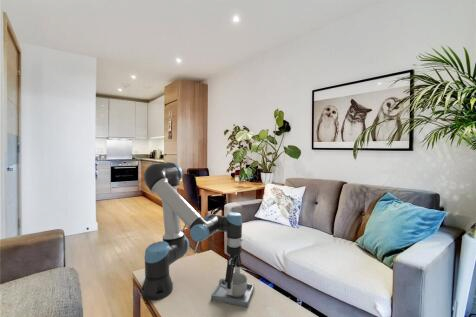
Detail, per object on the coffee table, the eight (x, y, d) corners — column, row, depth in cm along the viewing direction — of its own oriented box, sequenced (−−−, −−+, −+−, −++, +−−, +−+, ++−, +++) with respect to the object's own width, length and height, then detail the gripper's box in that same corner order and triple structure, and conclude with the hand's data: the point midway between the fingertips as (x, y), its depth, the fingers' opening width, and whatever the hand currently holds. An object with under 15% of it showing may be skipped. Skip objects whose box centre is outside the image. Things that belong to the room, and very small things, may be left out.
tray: (211, 300, 115) (211, 295, 115) (221, 283, 130) (221, 278, 130) (247, 307, 110) (247, 302, 110) (254, 289, 125) (254, 284, 125)
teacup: (248, 288, 124) (248, 273, 123) (245, 302, 113) (245, 285, 113) (222, 285, 127) (222, 270, 126) (216, 298, 116) (216, 282, 116)
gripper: (234, 256, 106) (233, 303, 107) (247, 236, 130) (246, 274, 131) (218, 254, 108) (217, 300, 109) (234, 234, 132) (233, 272, 133)
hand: (233, 286), depth 120 cm, fingers open, 13 cm apart
